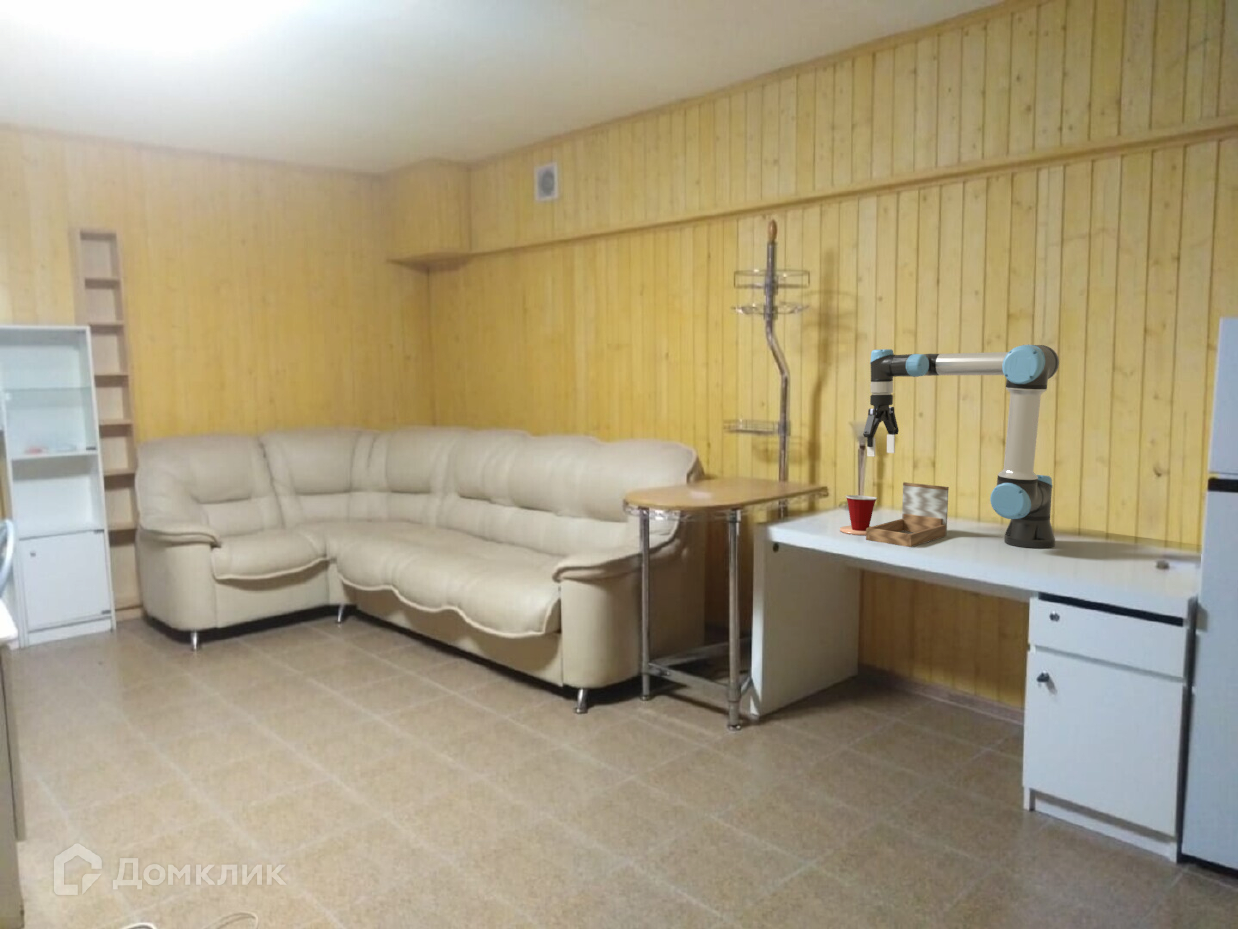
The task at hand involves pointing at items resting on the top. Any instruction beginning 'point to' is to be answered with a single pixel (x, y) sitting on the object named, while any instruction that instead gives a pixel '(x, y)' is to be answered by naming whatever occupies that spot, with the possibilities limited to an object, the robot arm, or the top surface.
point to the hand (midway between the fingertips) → (881, 454)
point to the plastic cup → (860, 511)
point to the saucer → (852, 531)
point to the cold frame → (916, 517)
